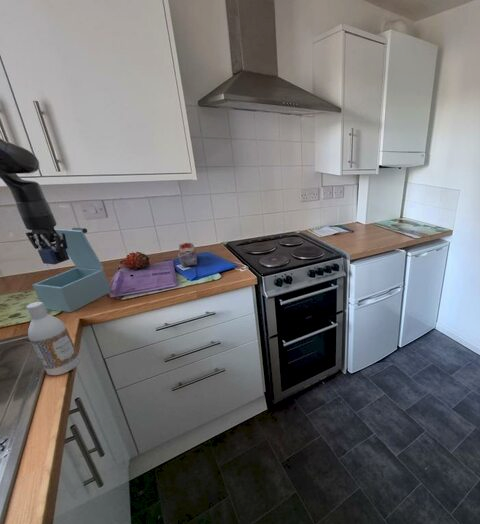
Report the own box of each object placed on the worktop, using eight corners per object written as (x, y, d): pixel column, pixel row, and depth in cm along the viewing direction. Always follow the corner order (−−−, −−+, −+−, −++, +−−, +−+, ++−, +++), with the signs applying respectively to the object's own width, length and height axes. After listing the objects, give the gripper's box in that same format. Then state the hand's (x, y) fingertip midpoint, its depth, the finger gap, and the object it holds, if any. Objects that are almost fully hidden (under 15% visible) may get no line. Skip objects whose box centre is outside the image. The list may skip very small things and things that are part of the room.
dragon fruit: (154, 269, 144) (126, 276, 141) (153, 255, 148) (126, 261, 145) (145, 261, 136) (115, 267, 134) (144, 246, 140) (116, 252, 138)
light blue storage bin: (71, 312, 107) (60, 288, 103) (43, 308, 109) (32, 284, 105) (111, 291, 121) (103, 269, 117) (85, 288, 123) (77, 267, 119)
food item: (199, 265, 145) (195, 246, 141) (181, 269, 141) (176, 249, 137) (196, 256, 156) (192, 238, 152) (179, 259, 152) (174, 241, 148)
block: (54, 264, 104) (49, 251, 102) (43, 263, 105) (37, 250, 103) (69, 259, 108) (64, 246, 106) (58, 258, 109) (53, 245, 107)
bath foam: (60, 378, 78) (28, 313, 70) (40, 373, 80) (6, 310, 72) (87, 360, 84) (60, 299, 77) (68, 356, 86) (39, 295, 78)
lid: (80, 231, 108) (92, 225, 112) (52, 229, 110) (65, 223, 114) (102, 269, 117) (112, 262, 121) (75, 266, 119) (87, 259, 123)
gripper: (6, 215, 98) (28, 263, 104) (40, 217, 95) (61, 266, 102) (32, 210, 104) (51, 255, 111) (65, 212, 102) (83, 258, 108)
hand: (56, 260), depth 106 cm, fingers closed on block, 5 cm apart
